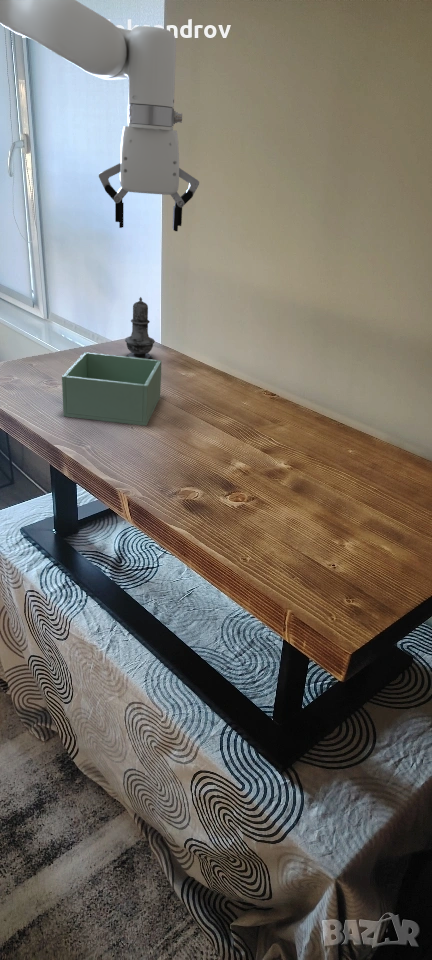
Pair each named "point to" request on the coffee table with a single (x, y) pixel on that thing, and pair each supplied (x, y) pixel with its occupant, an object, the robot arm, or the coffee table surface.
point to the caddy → (112, 388)
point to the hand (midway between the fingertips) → (148, 228)
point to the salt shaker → (140, 332)
